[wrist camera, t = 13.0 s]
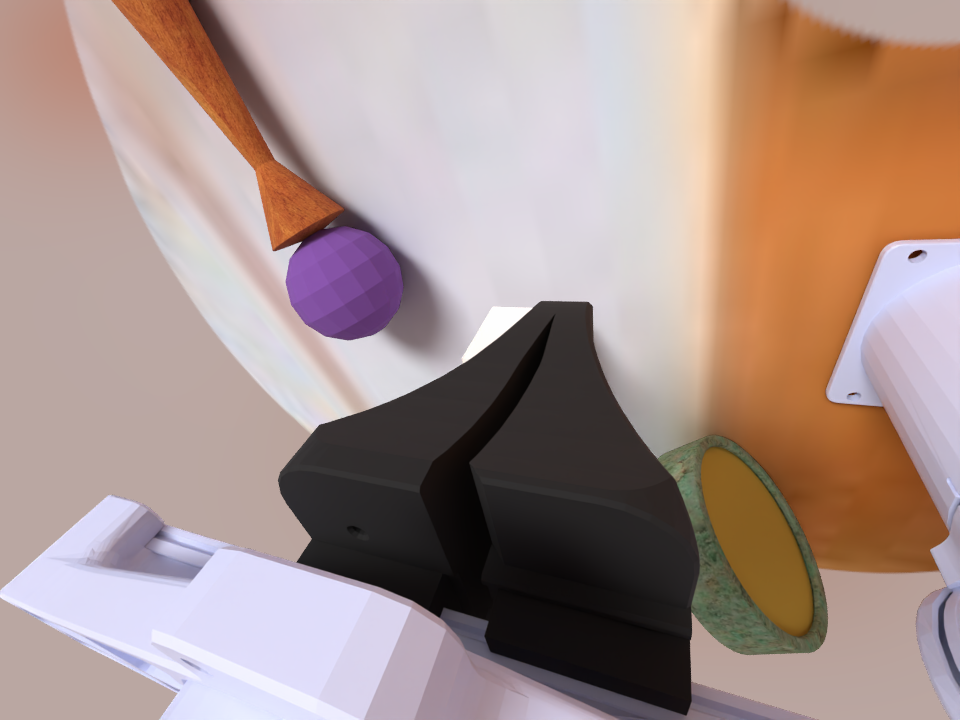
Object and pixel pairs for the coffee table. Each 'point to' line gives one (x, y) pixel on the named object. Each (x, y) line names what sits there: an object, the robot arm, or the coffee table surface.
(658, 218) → the coffee table surface
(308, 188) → the kendama
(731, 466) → the decorative artifact
